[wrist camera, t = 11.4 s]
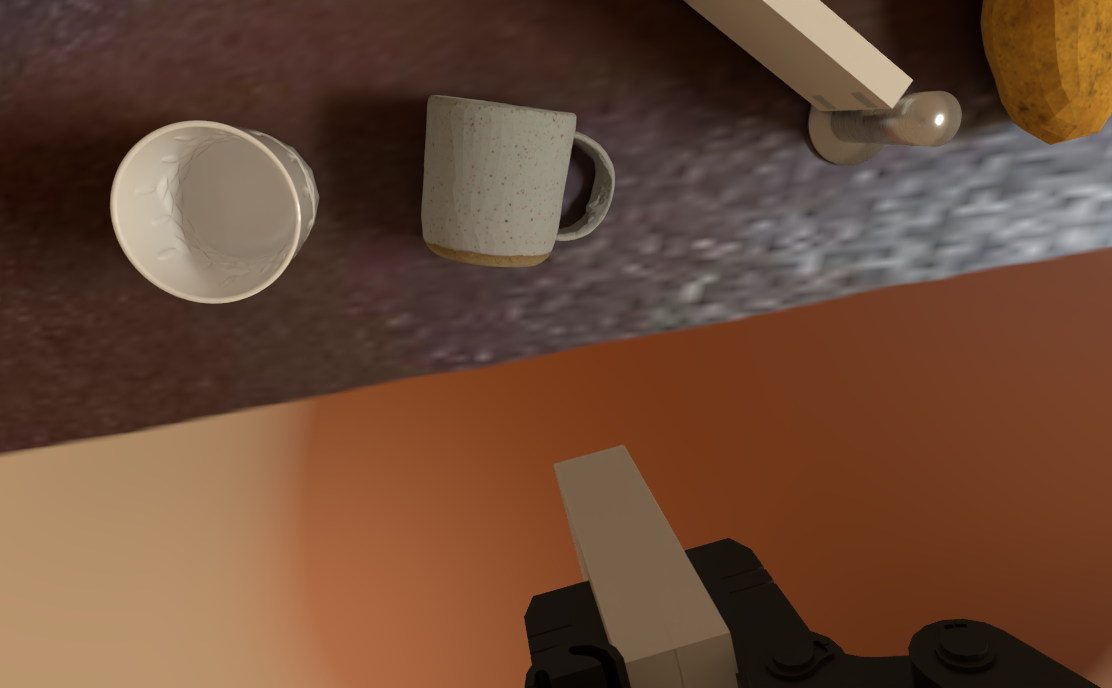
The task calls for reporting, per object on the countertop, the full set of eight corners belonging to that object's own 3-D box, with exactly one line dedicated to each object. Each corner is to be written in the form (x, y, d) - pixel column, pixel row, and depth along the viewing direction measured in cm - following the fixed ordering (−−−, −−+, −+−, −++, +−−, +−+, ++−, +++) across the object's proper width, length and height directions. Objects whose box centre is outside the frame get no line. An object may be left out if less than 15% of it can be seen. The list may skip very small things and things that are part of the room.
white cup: (346, 250, 47) (321, 282, 37) (206, 280, 46) (144, 320, 37) (307, 108, 45) (271, 103, 35) (160, 138, 44) (82, 141, 35)
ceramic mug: (419, 243, 47) (417, 265, 40) (428, 94, 45) (428, 88, 38) (600, 257, 49) (630, 281, 42) (616, 114, 47) (651, 113, 40)
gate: (837, 86, 48) (920, 78, 39) (819, 112, 48) (898, 109, 40) (682, -42, 45) (736, -80, 36) (663, -15, 45) (713, -46, 37)
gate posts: (648, -50, 45) (718, -110, 33) (717, -122, 44) (813, -208, 33) (843, 183, 50) (963, 201, 38) (907, 120, 49) (1049, 119, 38)
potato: (956, 151, 50) (1033, 155, 44) (955, -98, 47) (1039, -134, 40) (1074, 133, 51) (1167, 135, 44) (1083, -113, 47) (1185, -152, 41)
